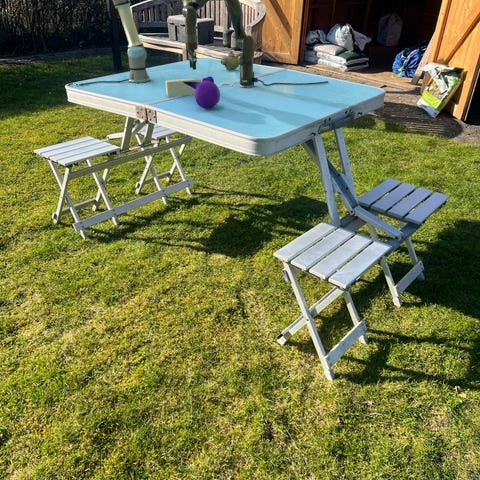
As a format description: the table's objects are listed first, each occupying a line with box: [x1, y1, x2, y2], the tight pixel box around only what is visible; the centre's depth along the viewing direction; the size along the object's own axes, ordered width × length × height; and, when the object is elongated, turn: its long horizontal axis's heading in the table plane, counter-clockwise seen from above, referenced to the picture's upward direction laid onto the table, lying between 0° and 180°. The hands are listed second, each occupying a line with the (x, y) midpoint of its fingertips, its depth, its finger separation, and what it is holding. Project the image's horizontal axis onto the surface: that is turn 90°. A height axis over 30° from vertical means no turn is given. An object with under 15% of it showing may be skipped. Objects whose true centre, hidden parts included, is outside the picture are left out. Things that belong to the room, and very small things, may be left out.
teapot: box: [220, 50, 242, 72], centre depth 368 cm, size 21×12×15 cm, turn 120°
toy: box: [183, 75, 221, 110], centre depth 265 cm, size 16×18×27 cm
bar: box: [165, 77, 202, 98], centre depth 295 cm, size 23×6×9 cm, turn 107°
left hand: (190, 38), depth 340 cm, fingers open, 13 cm apart
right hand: (193, 68), depth 291 cm, fingers open, 8 cm apart
